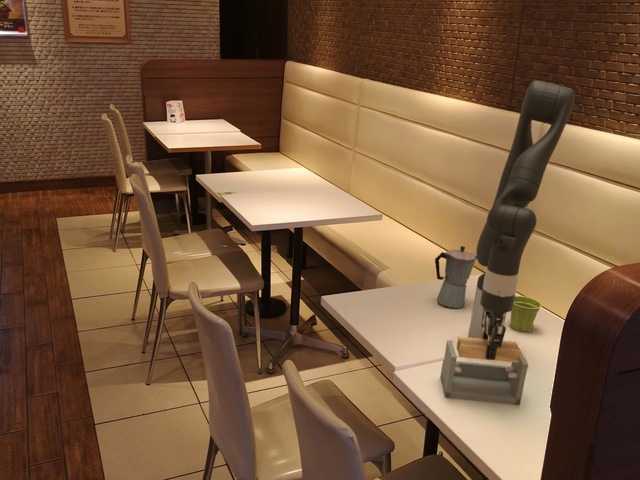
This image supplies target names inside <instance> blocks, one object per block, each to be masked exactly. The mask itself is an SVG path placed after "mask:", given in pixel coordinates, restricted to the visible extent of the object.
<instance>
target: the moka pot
mask: <svg viewBox="0 0 640 480" xmlns="http://www.w3.org/2000/svg"><path fill="white" fill-rule="evenodd" d="M465 249H466V247H465V246H462V245H461V246H460V248H459V249H448V250H447V251H446V252H443V251H442V252H441V253H439V254H438V256H436V257H435V258H434V264H435V272H436V278H437V280H441V281H443V282H442V285H441V287H440V290H439V293H438V294H437V295H438V296H437V298H436V300H437V303H438V304H439V305H441V306H444V307H447V308H451V309H462V308H464V306H465V304H466V303H465V302H466V293H467V291H466V290H467V283H468V280H469V278H470V277H471V276H470V275H471V274H472V270H473V268H474V265H475V262H476V260H477V254H475V253H472V252H469V251H466V250H465ZM441 258H442V259H445V269H444V276H441V273H440V260H441Z"/></svg>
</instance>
